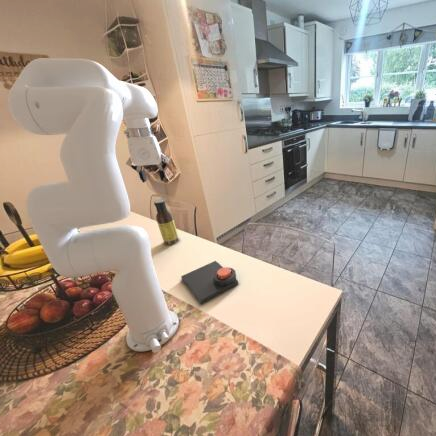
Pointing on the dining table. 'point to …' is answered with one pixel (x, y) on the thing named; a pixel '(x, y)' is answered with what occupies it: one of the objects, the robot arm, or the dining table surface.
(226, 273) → the button
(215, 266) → the black flat block
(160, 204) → the sauce bottle
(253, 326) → the dining table surface
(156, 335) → the robot arm
